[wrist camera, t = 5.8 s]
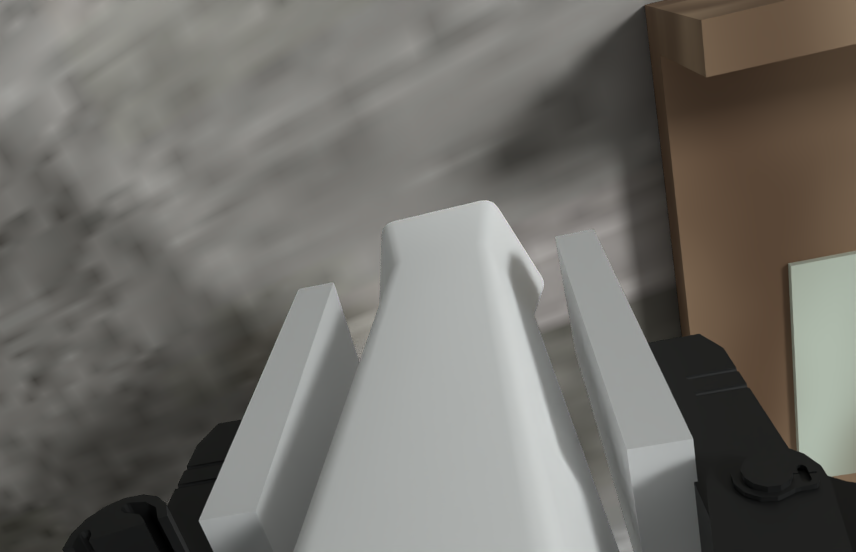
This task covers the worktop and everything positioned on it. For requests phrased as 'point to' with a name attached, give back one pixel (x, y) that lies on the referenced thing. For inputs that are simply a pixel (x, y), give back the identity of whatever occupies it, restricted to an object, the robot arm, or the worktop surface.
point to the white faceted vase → (455, 408)
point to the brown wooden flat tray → (766, 201)
